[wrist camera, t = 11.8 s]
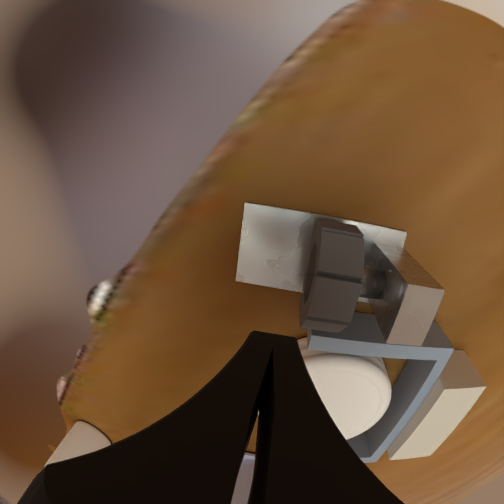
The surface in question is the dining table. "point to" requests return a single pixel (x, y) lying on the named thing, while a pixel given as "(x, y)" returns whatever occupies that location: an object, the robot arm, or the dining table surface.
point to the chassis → (409, 388)
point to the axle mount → (375, 267)
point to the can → (79, 442)
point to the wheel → (332, 276)
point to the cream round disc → (349, 387)
